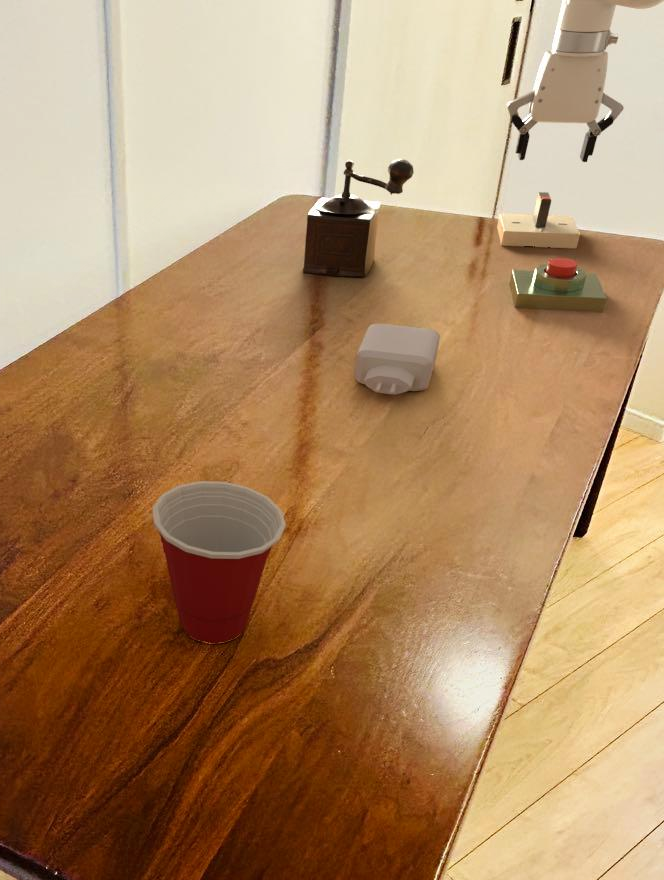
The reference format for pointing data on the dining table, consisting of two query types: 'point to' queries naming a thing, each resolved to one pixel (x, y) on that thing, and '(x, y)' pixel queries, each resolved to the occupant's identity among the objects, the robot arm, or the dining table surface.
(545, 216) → the upright dark panel
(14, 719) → the dining table surface
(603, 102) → the robot arm
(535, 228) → the cream slotted base block
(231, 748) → the dining table surface
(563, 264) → the button
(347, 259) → the manual coffee grinder
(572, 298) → the control block
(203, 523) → the plastic cup
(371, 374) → the charger
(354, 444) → the dining table surface
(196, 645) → the dining table surface
